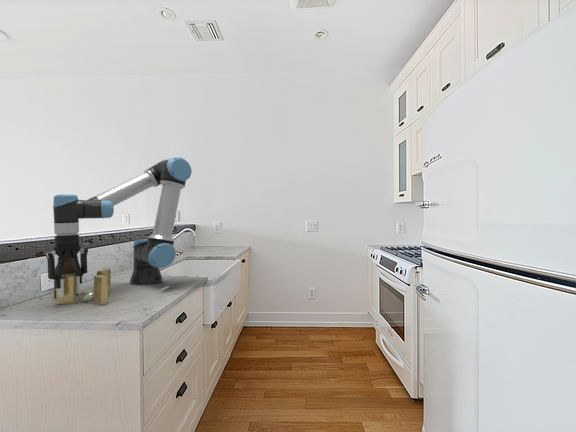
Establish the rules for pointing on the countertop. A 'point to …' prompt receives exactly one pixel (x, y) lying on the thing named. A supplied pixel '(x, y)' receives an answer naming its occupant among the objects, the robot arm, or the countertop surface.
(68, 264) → the beer bottle
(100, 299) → the knob
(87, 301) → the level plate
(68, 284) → the tan rectangular block
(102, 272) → the knob
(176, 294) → the countertop surface
